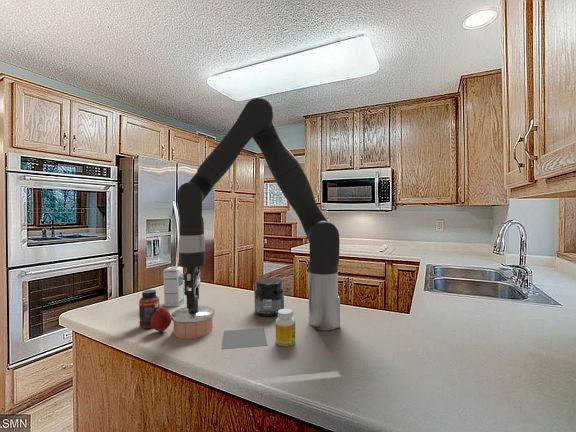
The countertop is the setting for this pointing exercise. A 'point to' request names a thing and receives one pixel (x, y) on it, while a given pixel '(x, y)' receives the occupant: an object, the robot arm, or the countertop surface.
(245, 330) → the mat
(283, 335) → the supplement bottle
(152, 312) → the supplement bottle
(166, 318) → the onion
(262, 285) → the supplement container
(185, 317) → the lid
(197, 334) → the bowl
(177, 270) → the syrup box
